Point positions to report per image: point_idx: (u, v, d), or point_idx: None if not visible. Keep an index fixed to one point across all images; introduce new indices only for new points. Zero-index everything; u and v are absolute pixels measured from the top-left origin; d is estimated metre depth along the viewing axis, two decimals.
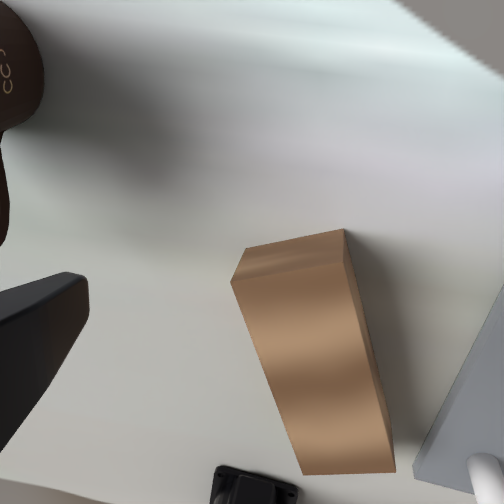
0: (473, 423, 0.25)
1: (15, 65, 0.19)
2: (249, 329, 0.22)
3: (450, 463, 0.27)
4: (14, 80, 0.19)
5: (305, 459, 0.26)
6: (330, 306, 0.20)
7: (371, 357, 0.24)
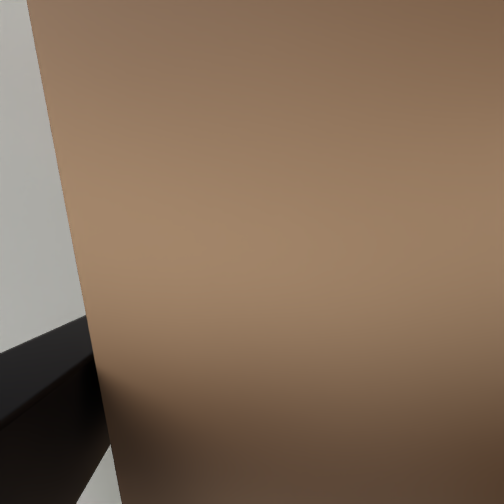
0: None
1: None
2: (61, 148, 0.04)
3: None
4: None
5: None
6: None
7: None
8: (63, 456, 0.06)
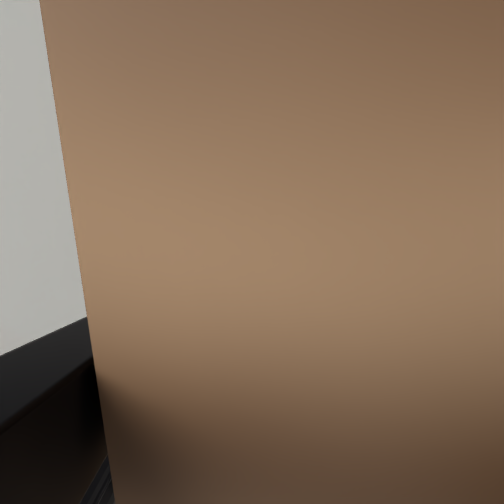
0: None
1: None
2: (68, 146, 0.04)
3: None
4: None
5: None
6: None
7: None
8: (66, 457, 0.06)
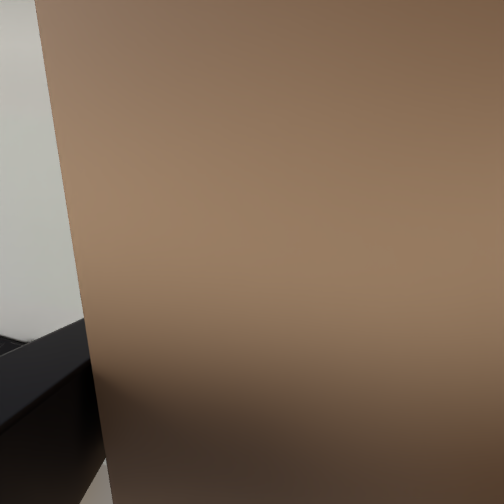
0: None
1: None
2: (63, 139, 0.04)
3: None
4: None
5: None
6: None
7: None
8: (66, 457, 0.06)
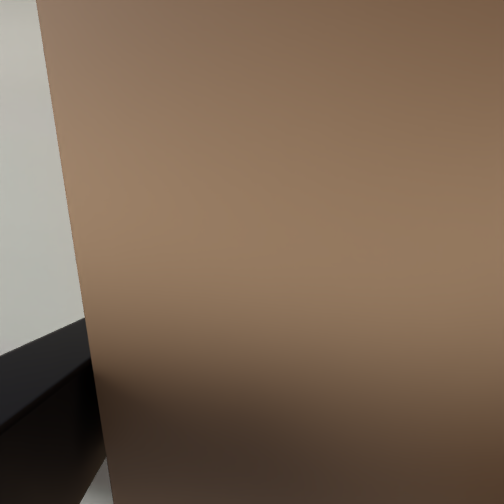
0: None
1: None
2: (64, 140, 0.04)
3: None
4: None
5: None
6: None
7: None
8: (66, 457, 0.06)
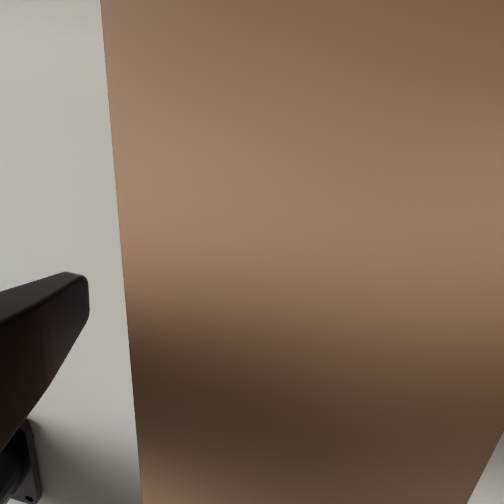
0: None
1: None
2: (116, 119, 0.05)
3: None
4: None
5: None
6: None
7: None
8: None
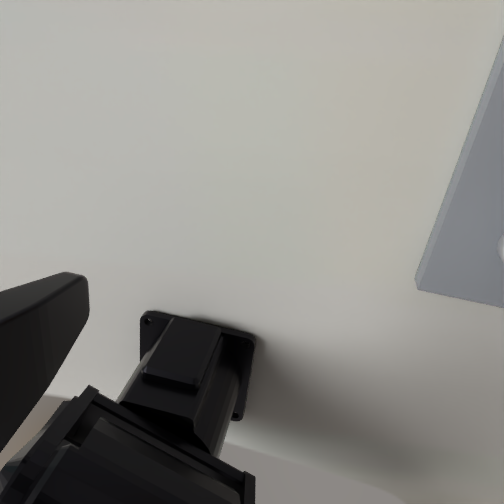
0: None
1: None
2: None
3: (471, 252, 0.18)
4: None
5: None
6: None
7: None
8: None
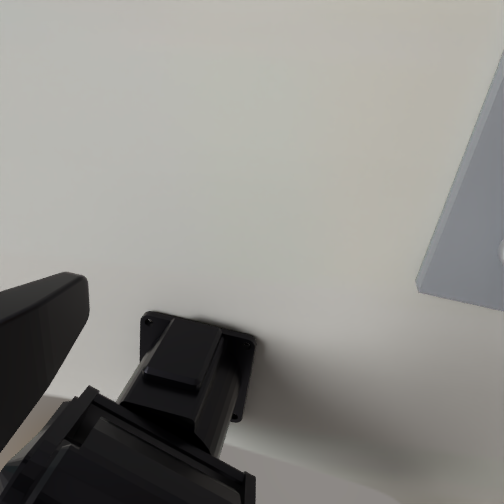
0: None
1: None
2: None
3: (472, 256, 0.18)
4: None
5: None
6: None
7: None
8: None
